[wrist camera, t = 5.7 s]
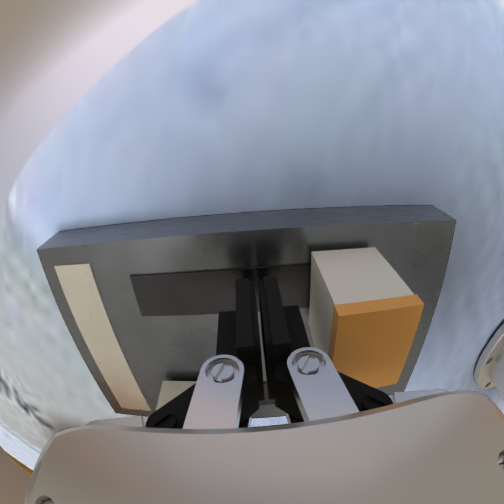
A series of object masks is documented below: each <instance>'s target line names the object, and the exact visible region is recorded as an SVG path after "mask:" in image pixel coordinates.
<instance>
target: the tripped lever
mask: <svg viewBox="0 0 504 504" xmlns="http://www.w3.org/2000/svg"><path fill="white" fill-rule="evenodd" d="M423 307H424V303H423V302H422V300H421V299H420V298H419V297H418V295H417V294H415V295H414V293H413V292H412V291H411V290H410V288H409V287H408V286H407V285H406V283H405V282H404V281H403V280H402V279H401V277H400V276H399V275H398V274H397V272H396V271H395V270H394V269H393V268H392V266H391V265H390V264H389V263H388V262H387V261H386V259H385V258H384V257H383V256H382V255H381V254H380V252H379V251H378V250H377V249H376V248H375V247H370V248H356V249H342V250H328V251H313V252H311V283H310V306H309V327H310V331H311V335H312V338H313V342H314V346H315V348H317V349H320V350H322V351H324V352H325V353H326V354H327V355H328V356H329V358H330V360H331V361H332V363H333V365H334V367H335V368H336V370H337V371H338V372H340V373H343V374H345V375H347V376H349V377H351V378H354V379H356V380H358V381H360V382H362V383H365V384H367V385H369V386H371V387H374V388H378V387H383V386H388V385H392V384H396V383H397V382H398V380H399V377H400V375H401V372H402V370H403V367H404V364H405V362H406V359H407V356H408V354H409V351H410V348H411V345H412V342H413V339H414V336H415V333H416V330H417V327H418V324H419V320H420V317H421V314H422V310H423Z"/></svg>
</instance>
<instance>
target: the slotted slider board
mask: <svg viewBox="0 0 504 504" xmlns="http://www.w3.org/2000/svg"><path fill="white" fill-rule="evenodd" d="M455 224H456V220H455V219H453V218H452V217H450V216H449V215H447V214H446V213H444V212H442V211H441V210H439V209H438V208H436V207H434V206H433V205H401V206H360V207H333V208H311V209H292V210H275V211H259V212H244V213H231V214H218V215H206V216H194V217H183V218H172V219H162V220H152V221H142V222H133V223H124V224H115V225H107V226H98V227H90V228H82V229H75V230H67V231H60V232H58V233H56V234H55V235H54V236H53V237H51V238H50V239H49V240H48V241H46V242H45V243H44V244H43V245H42V246H40V247H39V248H38V249H37V252H38V255H39V258H40V261H41V264H42V267H43V270H44V272H45V275H46V278H47V280H48V283H49V286H50V288H51V291H52V293H53V296H54V298H55V301H56V303H57V305H58V308H59V310H60V312H61V314H62V317H63V319H64V321H65V323H66V325H67V328H68V330H69V332H70V334H71V336H72V338H73V340H74V342H75V344H76V346H77V348H78V350H79V352H80V354H81V356H82V357H83V359H84V361H85V363H86V365H87V367H88V368H89V370H90V372H91V374H92V375H93V377H94V379H95V381H96V382H97V384H98V386H99V387H100V389H101V391H102V392H103V394H104V396H105V397H106V399H107V400H108V402H109V403H110V405H111V406H112V408H113V410H114V411H115V413H120V414H128V415H137V416H148V417H149V416H150V415H151V414H152V413H153V412H155V411H156V407H157V403H158V399H159V394H160V390H161V386H162V382H163V381H197V379H198V376H199V373H200V370H201V367H202V365H203V364H204V363H205V362H206V361H207V360H208V359H210V358H212V357H214V356H216V346H217V331H218V317H219V312H222V311H236V279H244V278H249V282H251V281H254V283H255V293H256V303H257V313H258V323H259V333H260V343H261V356H262V370H263V384H264V398H265V400H260V401H259V407H260V408H259V410H257V411H256V412H255V413H254V414H253V415H252V416H251V418H267V417H280V416H286V413H285V412H284V411H282V410H280V409H279V408H277V407H275V401H274V399H272V400H269V397H268V388H267V379H266V370H265V361H264V352H263V343H262V332H261V318H260V303H259V289H258V281H263V277H269V276H276V277H277V282H278V286H279V290H280V295H281V299H282V304H283V306H293V305H298V306H299V309H300V313H301V316H302V319H303V323H304V326H305V330H306V333H307V337H308V340H309V344H310V347H313V348H315V346H314V342H313V338H312V335H311V331H310V327H309V306H310V283H311V252H313V251H328V250H342V249H356V248H370V247H375V248H376V249H377V250H378V251H379V252H380V254H381V255H382V256H383V257H384V258H385V259H386V261H387V262H388V263H389V264H390V265H391V266H392V268H393V269H394V270H395V271H396V272H397V274H398V275H399V276H400V277H401V279H402V280H403V281H404V282H405V283H406V285H407V286H408V287H409V288H410V290H411V291H412V292H413V293H414V295H415V294H417V295H418V297H419V298H420V299H421V300H422V302H423V303H424V307H423V310H422V314H421V317H420V320H419V324H418V327H417V330H416V333H415V336H414V339H413V342H412V345H411V348H410V351H409V354H408V356H407V359H406V362H405V364H404V367H403V370H402V372H401V375H400V377H399V380H398V382H397V383H396V384H392V385H388V386H383V387H378V388H376V389H378V390H381V391H383V392H384V393H386V394H387V395H393V394H394V392H404V390H405V388H406V385H407V383H408V381H409V379H410V376H411V374H412V371H413V369H414V367H415V364H416V362H417V359H418V357H419V354H420V351H421V349H422V346H423V343H424V341H425V338H426V335H427V332H428V329H429V326H430V324H431V320H432V317H433V314H434V311H435V308H436V305H437V301H438V298H439V294H440V291H441V287H442V283H443V280H444V276H445V272H446V268H447V263H448V259H449V254H450V250H451V245H452V240H453V235H454V229H455Z"/></svg>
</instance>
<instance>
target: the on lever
mask: <svg viewBox="0 0 504 504" xmlns="http://www.w3.org/2000/svg"><path fill="white" fill-rule="evenodd" d="M196 382H197V381H163V382H162V386H161V390H160V394H159V399H158V403H157V407H156V410H158V409H159V408H161V407H162V406H164V405H165V404H166V403H168V402H169V401H171V400H172V399H174V398H175V397H177V396H178V395H179V394H181V393H182V392H184V391H185V390H187V389H188V388H189V387H191V386H192V385H194V384H195V383H196Z"/></svg>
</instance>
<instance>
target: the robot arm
mask: <svg viewBox="0 0 504 504" xmlns="http://www.w3.org/2000/svg"><path fill="white" fill-rule="evenodd" d="M258 289H259V303H260V318H261V332H262V343H263V352H264V361H265V370H266V379H267V388H268V397H269V400H272V399H274V401H275V407H277V408H279V409H280V410H282V411H284V412H285V413H286V418H287V421H288V424H282V425H272V426H261V427H251V416H252V415H253V414H254V413H255V412H256V411H257V410H259V408H260V407H259V401H260V400H265V398H264V384H263V370H262V356H261V343H260V333H259V323H258V313H257V303H256V293H255V283H254V281H251V282H249V278H244V279H236V311H222V312H219V317H218V331H217V346H216V356H214V357H212V358H210V359H208V360H207V361H206V362H205V363H204V364H203V365H202V367H201V370H200V373H199V376H198V379H197V382H196V383H195V384H194V385H192V386H191V387H189V388H188V389H187V390H185V391H184V392H182V393H181V394H179V395H178V396H177V397H175V398H174V399H172V400H171V401H169V402H168V403H166V404H165V405H164V406H162V407H161V408H159V409H158V410H156V411H155V412H153V413H152V414H151V415H150V416H149V417H148V418H143V417H142V416H134V417H126V418H116V419H105V420H95V421H91V422H89V423H87V424H86V425H85V426H79V427H74V428H69V429H66V430H63V431H61V432H58V433H57V434H55V435H53V436H52V437H51V438H50V439H49V440H48V442H47V443H46V444H45V446H44V448H43V450H42V452H41V454H40V456H39V458H38V460H37V463H36V465H35V468H34V470H33V473H32V476H31V480H30V483H29V486H28V490H27V493H26V497H25V501H24V504H504V415H503V413H502V412H501V410H500V409H499V408H498V407H497V405H496V404H495V403H494V402H493V401H492V400H491V399H490V398H489V397H487V396H486V395H484V394H482V393H479V392H474V391H457V390H456V391H447V390H444V389H432V390H421V391H409V392H394V394H393V395H387V394H386V393H384V392H383V391H381V390H378V389H376V388H374V387H371V386H369V385H367V384H365V383H362V382H360V381H358V380H356V379H354V378H351V377H349V376H347V375H345V374H343V373H340V372H338V371H337V370H336V368H335V367H334V365H333V363H332V361H331V360H330V358H329V356H328V355H327V354H326V353H325V352H324V351H322V350H320V349H317V348H313V347H310V344H309V340H308V337H307V333H306V330H305V326H304V323H303V319H302V316H301V313H300V309H299V306H298V305H293V306H283V304H282V299H281V295H280V290H279V286H278V282H277V277H276V276H269V277H263V281H258ZM474 379H475V381H476V383H477V385H478V386H479V387H480V388H481V389H490V388H494V387H496V388H497V390H498V391H499V393H500V394H501V396H502V398H503V399H504V323H503V324H502V325H501V326H500V328H499V329H498V330H497V331H496V333H495V334H494V335H493V337H492V338H491V340H490V341H489V343H488V344H487V346H486V347H485V349H484V351H483V352H482V354H481V356H480V358H479V360H478V363H477V365H476V368H475V372H474Z"/></svg>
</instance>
